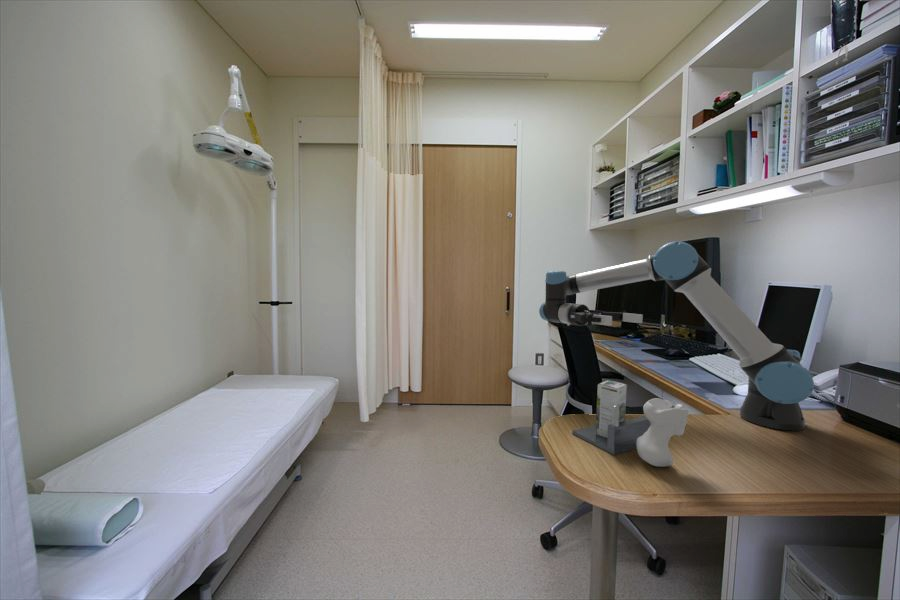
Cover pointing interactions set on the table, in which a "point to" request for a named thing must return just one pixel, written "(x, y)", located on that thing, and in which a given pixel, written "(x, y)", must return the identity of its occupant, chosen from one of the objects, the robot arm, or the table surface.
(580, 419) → the table surface
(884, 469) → the table surface
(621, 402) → the syrup box
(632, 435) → the grey piece
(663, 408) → the white sculpture
